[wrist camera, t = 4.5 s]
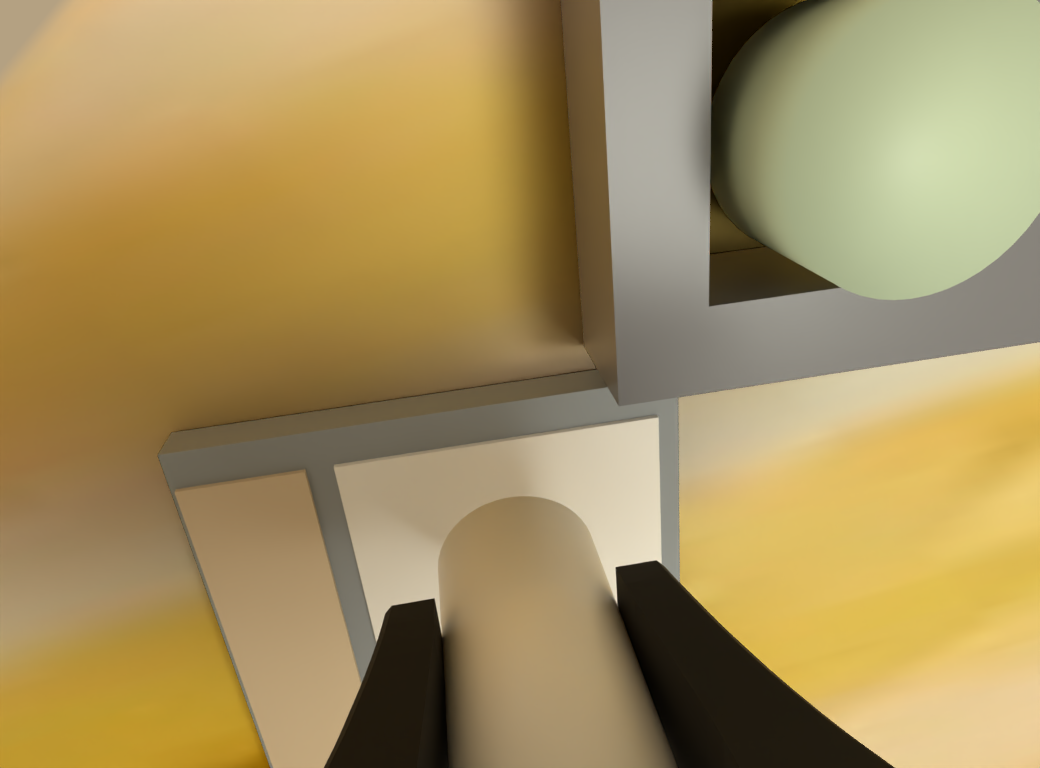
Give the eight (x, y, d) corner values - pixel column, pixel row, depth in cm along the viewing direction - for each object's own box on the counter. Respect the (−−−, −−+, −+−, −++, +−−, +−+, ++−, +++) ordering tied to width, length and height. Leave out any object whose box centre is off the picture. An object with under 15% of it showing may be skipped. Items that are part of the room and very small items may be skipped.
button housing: (1013, -152, 11) (1169, -204, 9) (943, 294, 14) (1047, 340, 12) (552, -109, 10) (592, -153, 8) (583, 346, 13) (618, 406, 11)
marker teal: (595, 478, 12) (818, 993, 5) (604, 613, 13) (795, 1165, 6) (419, 506, 11) (431, 1080, 5) (445, 641, 13) (481, 1242, 6)
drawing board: (664, 359, 14) (680, 380, 13) (671, 785, 19) (683, 821, 18) (171, 432, 13) (154, 459, 12) (318, 855, 18) (313, 895, 17)
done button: (955, -21, 10) (1111, -39, 8) (921, 235, 12) (1042, 279, 9) (706, 7, 10) (793, -5, 8) (703, 265, 11) (776, 318, 9)
